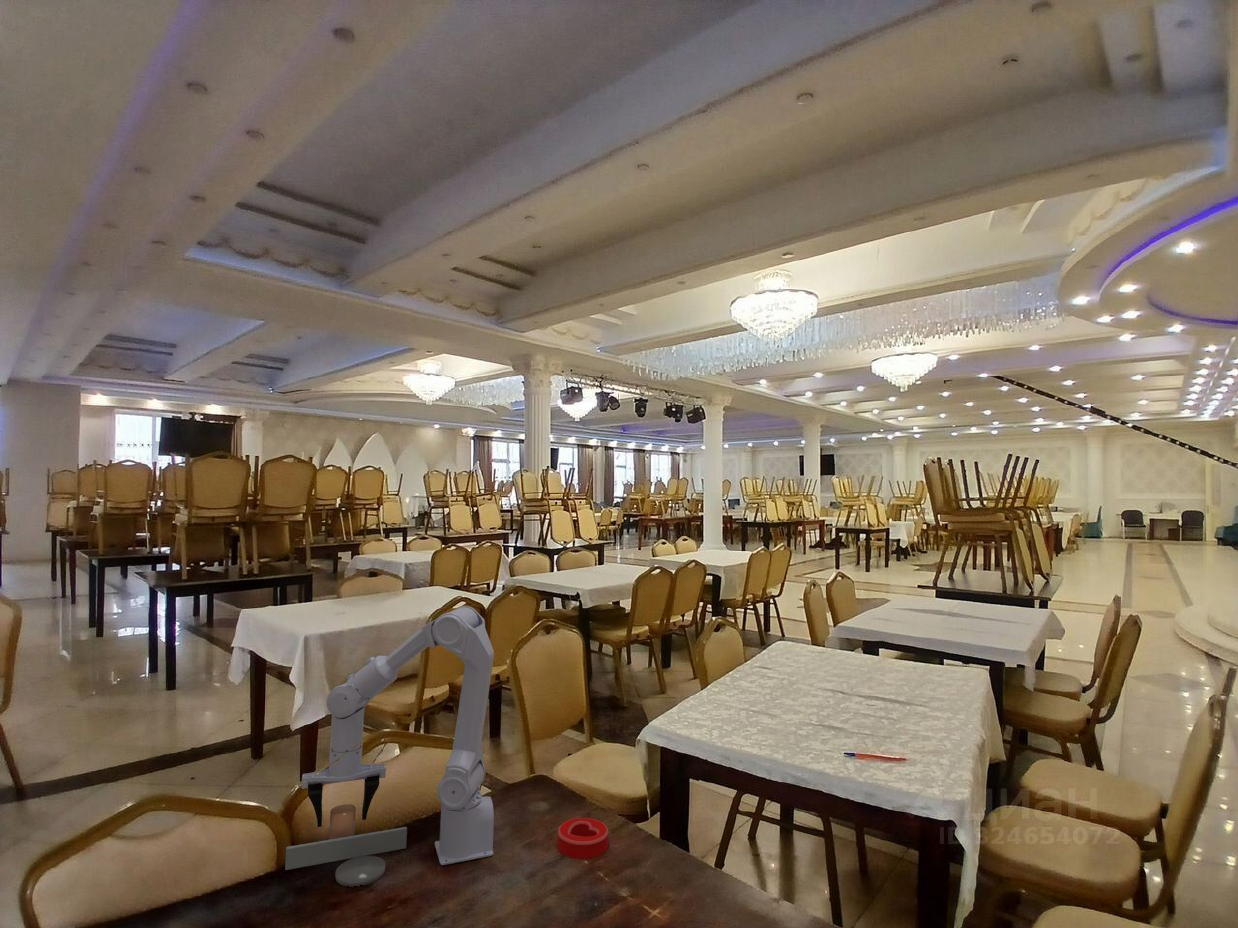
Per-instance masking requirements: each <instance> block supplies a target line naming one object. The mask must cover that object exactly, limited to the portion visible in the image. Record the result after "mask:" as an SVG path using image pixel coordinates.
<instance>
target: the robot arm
mask: <svg viewBox="0 0 1238 928" xmlns="http://www.w3.org/2000/svg"><path fill="white" fill-rule="evenodd" d="M439 645H440V646H441V647H442V648H444V649H445V650H447V651H449V652H451V653H453V654H454V655H456V656H457V657H458V658H459V659H460V661H461V662H462V663H463V664H464V669H463V678H462V685H461V691H460V696H459V697H460V698H459V704H458V709H457V717H456V724H455V729H454V731H455V732H454V737H453V743H452V749H451V752H450V755H449V756H448V757H449V758H448V759H447V762H446V765H445V770H444V774H443V775H442V776H443V777H442V778H441V779H440V781H439V783H438V784H437V790H436V791H437V792H436V794H437V798H438V801H439V802H440V804H441V806H440V826H439V827H440V828H439V830H440V831H439V840H436V841H434V847H435V850H436V855H437V857H438V862H439V864H440V865H441V866H446V865H451V864H456V863H461V862H466V861H471V860H476V859H482V858H486V857H492V856H493V855H494V825H495V824H494V823H495V822H494V821H495V820H494V819H495V817H494V815H495V814H494V812H495V811H494V803H493V800H492V797H491V796H482V794H481V790H480V786H481V785H482V784H483V782H484V781H485V777H486V767H485V765H484V751H483V749H482V741H483V733H484V727H485V722H486V721H485V719H486V714H487V707H488V706H487V705H488V700H489V693H490V692H489V691H490V686H491V680H492V671H493V666H494V658H495V651H494V648H493V646H492V642H491V640H490V638H489V635H488V632H487V630H486V621H485V618H484V617H483V616H481V615H480V613H478V611H477V610H476V609H475V608H473V607H471V606H469V605H468V606H467V605H461V606H459V607H456V608H455V609H453V610H451V611H449V612H445V613H442V614H441V615H440V616H438V617H437V618H436V619H434V620H432V621H430V622H428V623H427V624H425V625H423V626H422V627H420V628H419V629H418V630H417V631H416V632H414V634H412V635H411V636H409V638H407V639H406V640H405V641H404V642H403V643H402V644H401V645H399V646H398V647H397V648H396V649H394V651H393V652H391V653H390V654H389V655H388V656H387V655H377V656H371V657H369V658H368V659H367V660H366V661H365V663H364V664H365V665H364V666H363V667H362V668H361V669H360V670H358V671H357V672H356V673H351V674H350V675H348V676H347V677H346V680H347V681H346V682H345V683H343V684H340V685H339V684H338V685H337V686H335V687H333V688H332V690H331V691H330V692H329V694H328V696H327V697H326V698H327V699H326V709H327V710H328V713H330V714H331V720H330V721H331V724H330V741H329V744H330V745H329V760H328V768H326V769H322V771H321V770H317V771H313V772H308V773H303V774H302V777H301V789H302V790H305V789H307V796H308V798H309V801H310V802H311V805H312V806H313V809H314V812H315V815H316V816H315V817H316V824H317V826H316V827H317V828H321V827H322V826H323V825H322V823H323V790H324V788H323V787H324V785H329V784H338V783H345V782H352V781H359V780H360V781H361V780H364V782H363V783H364V785H363V786H364V787H363V788H364V789H363V802H362V808H361V811H362V812H361V819H362V821H366V820H367V818H368V817H367V816H368V812H369V808H370V805H371V802H372V800H373V798H374V797H375V794H376V792H377V791H378V789H379V786H380V779H385V778H386V775H387V773H386V771H387V766H386V763H380V764H377V763H376V764H365V763H364V764H363V763H362V761H363V760H362V759H363V739H364V721H365V708H366V706H367V705H368V704H369V703H370V701H371V700H372V699H374V697H376V696H377V695H379V694H380V693H381V692H382V691H383V690H385V689H386V688H387V687H388V686H390V685H391V684H392V683H394V682H395V681H396V680H397V678H398V674H399V669H400V668H402V667H403V666H404V665H405V664H407V663H408V662H410V661H412V659H414V658H415V657H416V656H418V655H419V654H420V653H421V652H423V651H425V650H426V649H427V648H436V647H438V646H439ZM361 742H362V743H361ZM359 743H361V744H359ZM357 744H359V745H357ZM356 745H357V746H356ZM354 746H356V747H355V748H353V747H354ZM352 748H353V749H352ZM351 749H352V750H351ZM344 753H346V754H344ZM343 754H344V755H343ZM342 755H343V756H342ZM341 756H342V757H341ZM339 758H340V759H339ZM337 759H339V760H338V761H336V760H337ZM335 761H336V762H335ZM333 762H334V763H333ZM332 763H333V764H332ZM330 764H331V765H330ZM329 765H330V766H329ZM319 771H321V772H320V773H318V774H316V773H317V772H319ZM313 775H314V776H313ZM311 776H313V777H311ZM309 777H311V778H310V779H309ZM305 780H307V781H306V782H304V781H305ZM302 782H304V783H302Z"/></svg>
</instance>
